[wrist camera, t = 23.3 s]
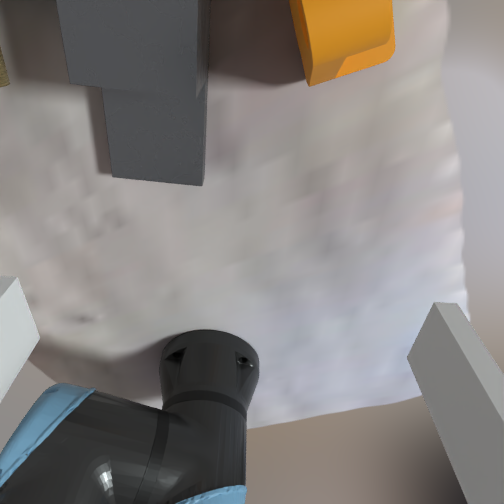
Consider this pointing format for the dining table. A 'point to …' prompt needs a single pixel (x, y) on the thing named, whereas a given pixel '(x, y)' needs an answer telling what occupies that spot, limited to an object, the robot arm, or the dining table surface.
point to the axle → (3, 72)
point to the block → (145, 81)
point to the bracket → (342, 36)
